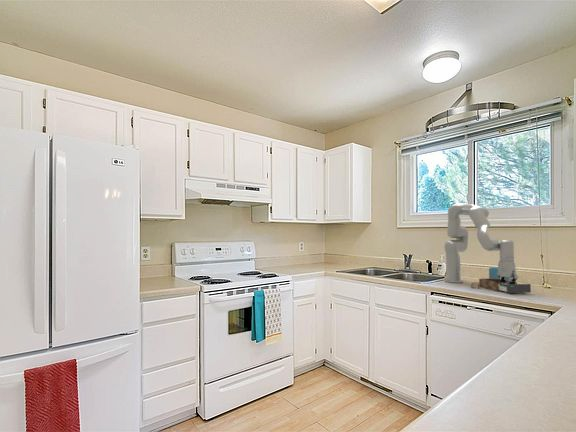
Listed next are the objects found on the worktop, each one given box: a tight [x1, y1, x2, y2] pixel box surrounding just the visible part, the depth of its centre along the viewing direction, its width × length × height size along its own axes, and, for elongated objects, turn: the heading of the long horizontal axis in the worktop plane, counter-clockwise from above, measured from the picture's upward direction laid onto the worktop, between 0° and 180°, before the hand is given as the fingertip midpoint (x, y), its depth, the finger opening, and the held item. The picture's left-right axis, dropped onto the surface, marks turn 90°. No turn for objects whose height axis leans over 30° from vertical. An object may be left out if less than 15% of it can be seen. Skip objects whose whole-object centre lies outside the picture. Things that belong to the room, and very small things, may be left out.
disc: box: [501, 282, 509, 287], centre depth 199 cm, size 7×7×2 cm
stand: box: [470, 281, 480, 289], centre depth 210 cm, size 5×5×4 cm
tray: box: [498, 283, 532, 294], centre depth 198 cm, size 16×15×5 cm
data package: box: [488, 266, 510, 281], centre depth 224 cm, size 12×4×12 cm, turn 51°
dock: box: [478, 278, 518, 292], centre depth 207 cm, size 16×14×6 cm
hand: (507, 286), depth 199 cm, fingers closed on disc, 6 cm apart
